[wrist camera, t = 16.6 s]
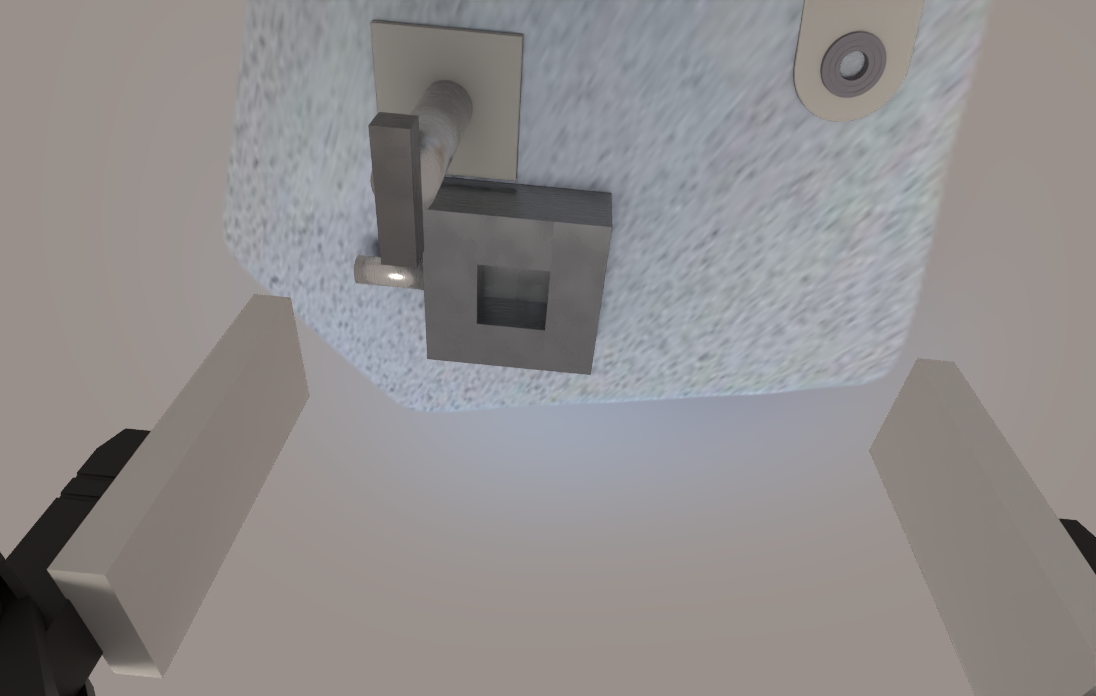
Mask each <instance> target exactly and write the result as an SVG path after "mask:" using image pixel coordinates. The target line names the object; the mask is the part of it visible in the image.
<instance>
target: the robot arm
mask: <svg viewBox="0 0 1096 696" xmlns="http://www.w3.org/2000/svg"><path fill="white" fill-rule="evenodd" d="M308 398H309V391H308V385H307V380H306V375H305V370H304V365H303V360H302V354H301V349H300V345H299V339H298V334H297V328H296V323H295V318H294V313H293V307H292V302H291V298H290V297H279V296H269V295H258V294H254V295H253V296H252V298H251V299H250V300H249V302H248V303H247V304H246V306H245V307H244V308H243V310H242V311H241V313H240V314H239V315H238V316H237V318H236V319H235V320H234V322H233V323H232V324H231V326H230V327H229V328H228V330H227V331H226V332H225V334H224V335H223V336H222V338H221V339H220V340H219V342H218V343H217V344H216V346H215V347H214V348H213V349H212V351H211V352H210V353H209V355H208V356H207V357H206V359H205V360H204V362H203V363H202V364H201V366H200V367H199V368H198V369H197V371H196V372H195V373H194V375H193V376H192V378H191V379H190V380H189V381H188V383H187V384H186V385H185V387H184V388H183V389H182V391H181V392H180V393H179V395H178V396H177V397H176V399H175V400H174V401H173V403H172V404H171V405H170V407H169V408H168V409H167V411H166V412H165V414H164V415H163V416H162V417H161V419H160V420H159V421H158V423H157V424H156V425H155V427H154V428H153V429H152V430H151V431H146V430H136V429H124V430H123V431H121V432H120V433H119V434H117V435H116V436H114V437H113V438H111V439H110V440H108V441H107V442H106V443H104V444H103V445H101V446H100V447H98V448H97V449H96V450H95V451H94V453H93V454H92V455H91V456H90V457H89V459H88V460H87V461H86V462H85V464H84V465H83V466H82V467H81V468H80V470H79V471H78V472H77V476H76V478H72V479H71V481H70V482H69V483H68V484H67V486H66V487H65V488H64V489H63V490H62V492H61V496H60V497H59V498H56V499H55V500H54V501H53V503H52V504H51V505H50V506H49V507H48V509H47V510H46V511H45V512H44V514H43V515H42V516H41V517H40V518H39V520H38V521H37V522H36V523H35V524H34V526H33V527H32V528H31V529H30V531H29V532H28V533H27V534H26V536H25V537H24V538H23V539H22V541H21V542H20V543H19V544H18V545H17V546H16V548H15V549H14V550H13V551H12V553H11V554H10V555H9V556H8V557H7V559H6V560H5V558H4V557H3V555H2V554H1V553H0V696H95V692H94V687H93V685H92V684H91V682H90V680H89V678H88V677H89V675H90V674H91V672H92V670H93V669H94V667H95V665H96V664H97V662H98V660H99V659H100V657H101V655H103V657H104V658H105V660H106V661H107V663H108V664H109V666H110V667H111V669H112V671H113V672H114V673H117V674H127V675H137V676H147V677H157V678H163V677H164V675H165V673H166V671H167V669H168V667H169V666H170V664H171V661H172V660H173V658H174V656H175V654H176V652H177V650H178V648H179V646H180V644H181V642H182V640H183V639H184V637H185V635H186V633H187V631H188V629H189V627H190V625H191V623H192V621H193V619H194V617H195V615H196V613H197V612H198V610H199V608H200V606H201V604H202V602H203V600H204V598H205V596H206V594H207V592H208V590H209V588H210V586H211V585H212V583H213V581H214V579H215V577H216V575H217V573H218V571H219V569H220V567H221V565H222V563H223V562H224V559H225V558H226V556H227V554H228V552H229V550H230V548H231V546H232V544H233V542H234V540H235V538H236V536H237V534H238V532H239V531H240V529H241V527H242V525H243V523H244V521H245V519H246V517H247V515H248V513H249V511H250V510H251V508H252V506H253V504H254V502H255V500H256V498H257V496H258V494H259V492H260V490H261V488H262V486H263V484H264V483H265V481H266V479H267V477H268V475H269V473H270V471H271V469H272V467H273V465H274V463H275V461H276V459H277V458H278V456H279V454H280V452H281V450H282V448H283V446H284V444H285V442H286V440H287V438H288V436H289V434H290V432H291V430H292V428H293V427H294V425H295V423H296V421H297V419H298V417H299V415H300V413H301V411H302V409H303V407H304V406H305V403H306V402H307V400H308ZM869 451H870V454H871V456H872V458H873V461H874V463H875V465H876V467H877V470H878V472H879V475H880V477H881V479H882V482H883V484H884V486H885V489H886V491H887V493H888V495H889V498H890V500H891V503H892V505H893V507H894V509H895V511H896V514H897V516H898V519H899V521H900V523H901V525H902V528H903V530H904V533H905V535H906V537H907V539H908V542H909V544H910V546H911V549H912V551H913V553H914V556H915V558H916V560H917V563H918V565H919V567H920V569H921V572H922V574H923V577H924V579H925V581H926V584H927V586H928V588H929V590H930V593H931V595H932V597H933V600H934V602H935V604H936V607H937V609H938V611H939V613H940V616H941V618H942V620H943V623H944V625H945V628H946V630H947V632H948V634H949V637H950V639H951V641H952V644H953V646H954V648H955V651H956V653H957V655H958V658H959V660H960V662H961V665H962V667H963V669H964V672H965V674H966V676H967V678H968V681H969V683H970V685H971V688H972V690H973V692H974V694H975V696H1096V537H1095V536H1094V535H1093V534H1091V533H1090V532H1089V531H1088V530H1087V529H1086V528H1085V527H1084V526H1082V525H1081V524H1080V523H1079V522H1078V521H1077V520H1068V519H1058V517H1057V516H1056V514H1055V513H1054V511H1053V510H1052V508H1051V507H1050V505H1049V504H1048V502H1047V501H1046V499H1045V498H1044V496H1043V495H1042V493H1041V492H1040V490H1039V489H1038V487H1037V486H1036V484H1035V483H1034V481H1033V480H1032V478H1031V477H1030V475H1029V474H1028V472H1027V471H1026V469H1025V468H1024V466H1023V465H1022V463H1021V462H1020V460H1019V459H1018V458H1017V456H1016V454H1015V453H1014V451H1013V450H1012V448H1011V447H1010V445H1009V444H1008V442H1007V441H1006V439H1005V438H1004V436H1003V435H1002V433H1001V432H1000V430H999V429H998V427H997V426H996V424H995V423H994V421H993V420H992V418H991V417H990V415H989V414H988V412H987V411H986V409H985V408H984V406H983V405H982V403H981V402H980V400H979V399H978V397H977V396H976V394H975V393H974V391H973V390H972V388H971V387H970V385H969V383H968V382H967V381H966V379H965V377H964V376H963V374H962V373H961V372H960V370H959V368H958V367H957V365H956V364H955V362H950V361H940V360H929V359H917V360H916V362H915V364H914V366H913V368H912V370H911V371H910V373H909V375H908V377H907V379H906V381H905V383H904V385H903V387H902V389H901V391H900V392H899V395H898V397H897V398H896V400H895V402H894V404H893V406H892V408H891V410H890V412H889V413H888V415H887V417H886V419H885V421H884V423H883V425H882V427H881V429H880V431H879V433H878V434H877V436H876V438H875V440H874V442H873V444H872V446H871V448H870V450H869Z"/></svg>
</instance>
